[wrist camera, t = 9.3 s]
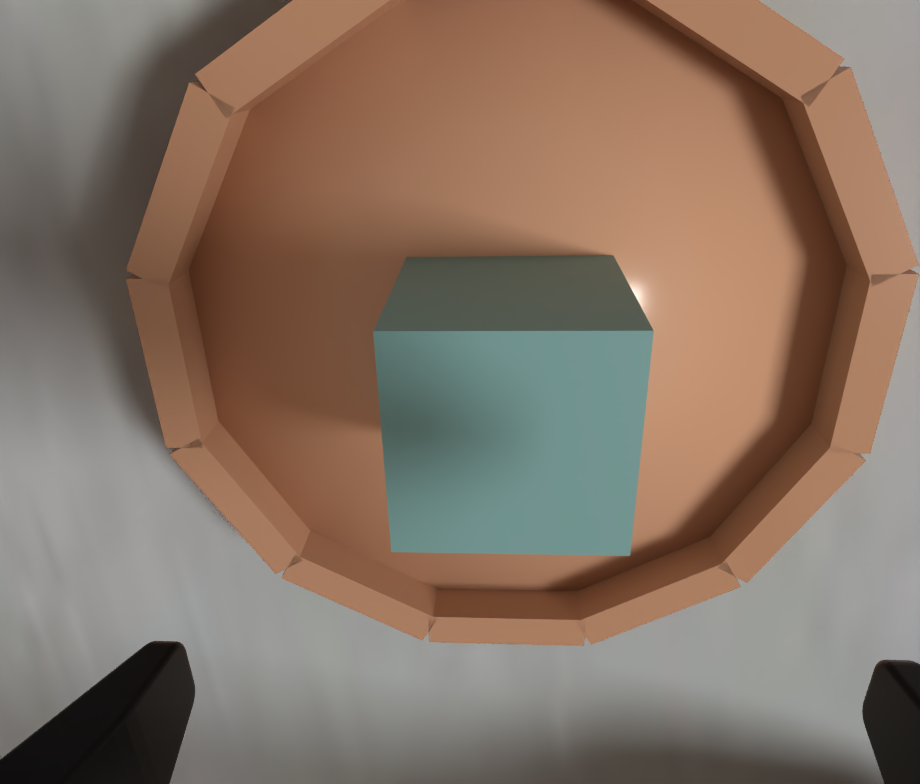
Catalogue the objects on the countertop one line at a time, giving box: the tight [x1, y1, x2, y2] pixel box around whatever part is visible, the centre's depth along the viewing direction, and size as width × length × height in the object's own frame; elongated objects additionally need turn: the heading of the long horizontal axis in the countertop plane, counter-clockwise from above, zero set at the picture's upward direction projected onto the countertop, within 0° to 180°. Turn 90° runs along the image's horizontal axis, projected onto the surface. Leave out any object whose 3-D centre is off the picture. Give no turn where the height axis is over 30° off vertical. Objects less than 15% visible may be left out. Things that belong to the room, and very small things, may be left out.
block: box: [373, 255, 654, 556], centre depth 16 cm, size 5×5×5 cm
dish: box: [126, 0, 919, 646], centre depth 18 cm, size 18×18×2 cm
